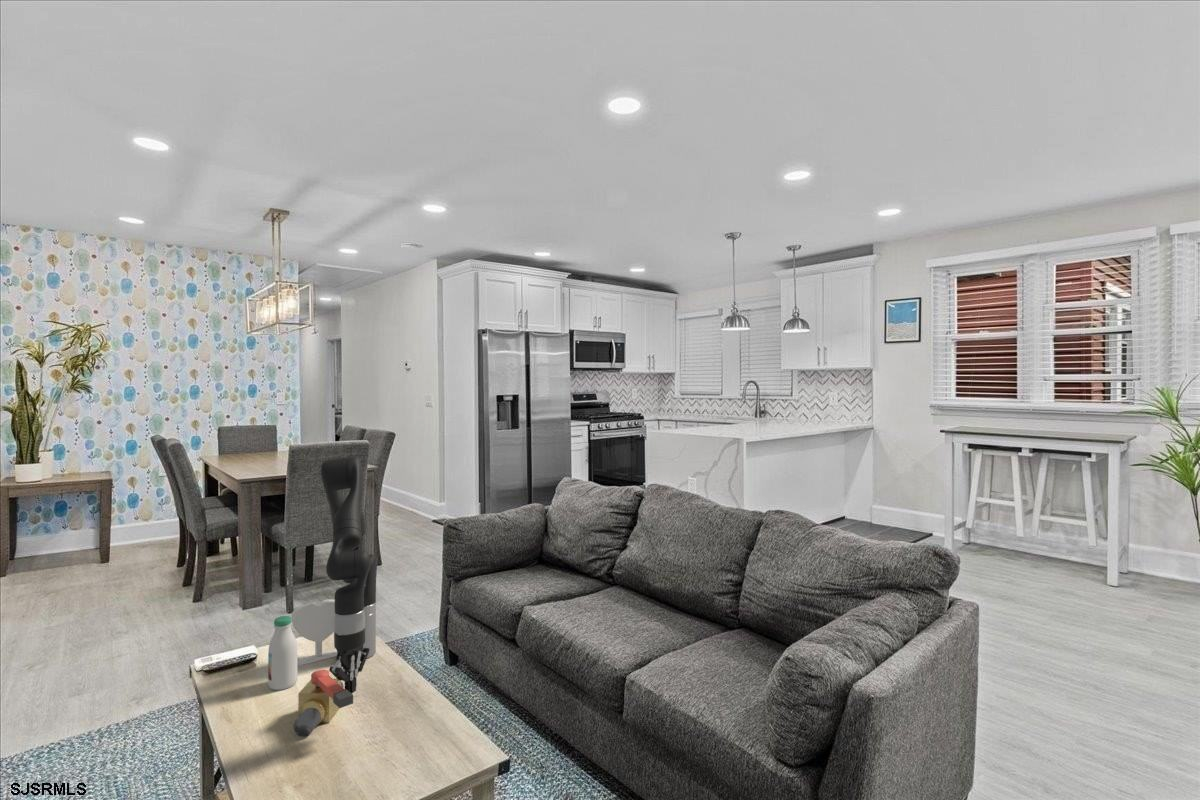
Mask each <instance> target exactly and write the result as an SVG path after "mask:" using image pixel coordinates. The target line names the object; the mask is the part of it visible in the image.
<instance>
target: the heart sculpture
mask: <svg viewBox="0 0 1200 800" xmlns="http://www.w3.org/2000/svg"><path fill="white" fill-rule="evenodd" d="M334 616H335V599H324V600H322V601H321V602H319V603H318V604H316V603H313V602H308V603H305V604H303V605H300V606H297V607H296V608H295V609H294V610H293V611H292V614H291V619H292V621H291V624H292V627H293V629H294V630H295V631H296V632H297V633H298V634H299V636H301V637H302V638H304V639H306V640H307V641H312V642H315V654H313V655H309V656H305V657H300V658H297V665H300V666H302V665H307V664H311V663H314V662H318V661H323V660H327V659H330V658H334V657H335V658H336V656H337V650H336V649H333V650H329V651H325V652H323V642H324V641H325V640H326V639H328V638H329V637H330V636H331V635H334Z"/></svg>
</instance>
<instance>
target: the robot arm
mask: <svg viewBox="0 0 1200 800" xmlns="http://www.w3.org/2000/svg"><path fill="white" fill-rule="evenodd" d="M320 476H321V481H322V484H323V488H324V492H325V495H326V498H327V502H328V505H329V511H330V517H331V523H332V544H331V545H332V546H331V549H330V553H329V556H328V558H327V561H326V566H325V570H326V575H327V577H328V578H329V579H331V580H332V581H343V583H345V584H347V585H344V586H341V587H339V588H337V589H336V590H335V591H334V600H335V616H334V632H333V645H334V648H335V650H337V656H335V660H336V662H335V664H333V666H330V667H329V669H328V671H329V673H331V674H332V675H333V677H334V678H335V679H338V680H341V682H344V689H345V690H346V689H347V690H348V691H349V692H350V693H352V694H353V693H355V692H356V691H357V685H358V684H357V677H358V676H359V673H361V672H362V671H363V669H364V666H365V664H366V661H367V659H369V658H370V657H373V656H374V655H375V654H376V653H377V649H376V648H377V647H376V645H377V644H376V641H377V639H376V638H377V627H376V626H377V625H376V624H377V621H376V620H377V617H376V616H377V607H376V605H377V573H378V572H377V571H378V560H377V559H378V558H377V557H376V555H374V554H370V553H369V551H367V550H366V549H357V548H358V547H359V546H360V545H361V543H362V540H363V538H364V536H365V533H366V531H367V530H366V529H367V527H366V521H365V516H364V512H363V510H362V500H363V490H364V489H363V486H364V470H363V465H362V461H361V460H360V457H357V456H347V457H337V458H330V459H326V460H324V461H322V463H321V466H320ZM347 489H348V490H349V489H350V490H349V493H348V495H347V496H345V495H344V494H343V493H342V492H341V490H347ZM356 549H357V550H356Z"/></svg>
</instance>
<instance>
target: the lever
mask: <svg viewBox="0 0 1200 800" xmlns="http://www.w3.org/2000/svg"><path fill="white" fill-rule="evenodd" d="M310 678H311V679H310V680H311V683H312V684H314V685H318V686H319V687H320V688H321V689H322V690H323V691H325V692H326V693H327V694H328V695H329V696H330V697H331V698H332V699H333V703H334V704H336V705H337V706H338V707H339V708H340V709H342V708H344V707H348V706H350V705H352V704H354V694H353V693H350V692H349V691H348V690H347V689H346V690H345V687H344V688H342V687H341V686H340V685H339V684H338V683H337V682H336V681H335V680H334V679H335V678H333V677H331V676H330V671H329V669H328V670H327V669H317V670H315V671H313V672H312V673H311V677H310Z"/></svg>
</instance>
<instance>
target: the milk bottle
mask: <svg viewBox="0 0 1200 800" xmlns="http://www.w3.org/2000/svg"><path fill="white" fill-rule="evenodd" d="M273 620H274V621H273V624H274V626H273V627H274V632H273V635H272V637H271V640H270V642H269V646H268V656H267V657H268V659H267V660H268V663H267V664H268V665H267V666H268V667H267V668H268V669H267V671H268V672H267V673H268V674H267V675H268V677H267V679H268V681H267V683H268V688H269V689H271V690H273V691H282V690H287V689H289V688H291V687H294V685H296V684H297V682H298V664H297V660H298V643H297V638H296V636H295V634H294V633H293V631H292V627H291V626H292V616H289V615H283V616H278V617H276V618H275V619H273Z"/></svg>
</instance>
